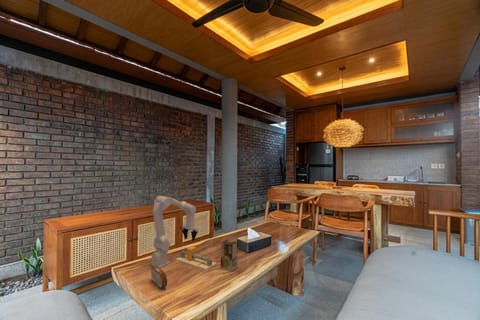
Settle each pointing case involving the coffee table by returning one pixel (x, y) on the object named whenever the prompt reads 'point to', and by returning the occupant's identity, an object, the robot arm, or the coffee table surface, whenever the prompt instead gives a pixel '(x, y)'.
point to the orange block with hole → (190, 251)
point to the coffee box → (229, 255)
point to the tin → (159, 277)
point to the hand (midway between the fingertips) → (189, 239)
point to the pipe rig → (196, 261)
